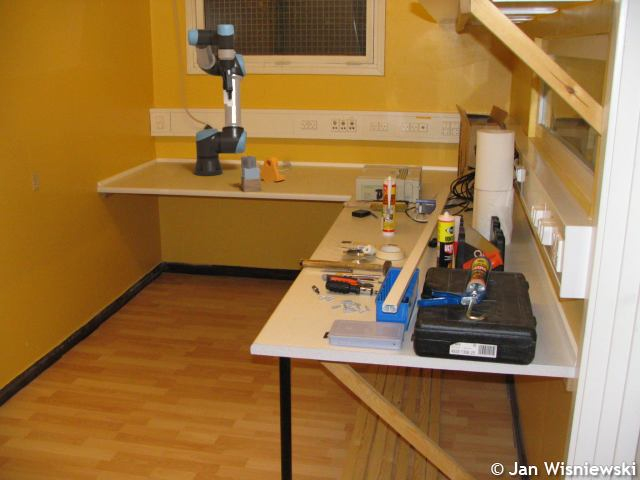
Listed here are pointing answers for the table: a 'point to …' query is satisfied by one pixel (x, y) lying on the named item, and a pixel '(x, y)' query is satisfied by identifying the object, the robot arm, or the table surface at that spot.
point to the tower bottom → (251, 185)
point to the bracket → (271, 170)
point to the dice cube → (248, 162)
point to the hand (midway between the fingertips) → (228, 105)
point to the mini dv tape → (425, 206)
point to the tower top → (250, 173)
